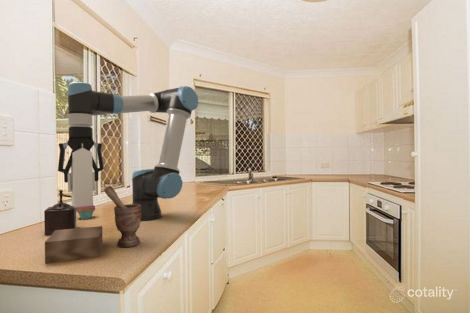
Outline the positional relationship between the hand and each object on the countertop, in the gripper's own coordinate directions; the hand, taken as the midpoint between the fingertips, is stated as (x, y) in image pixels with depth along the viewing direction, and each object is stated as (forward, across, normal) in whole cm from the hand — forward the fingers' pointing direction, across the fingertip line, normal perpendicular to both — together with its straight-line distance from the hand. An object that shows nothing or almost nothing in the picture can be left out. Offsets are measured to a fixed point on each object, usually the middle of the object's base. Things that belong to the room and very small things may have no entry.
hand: (82, 190), depth 105 cm
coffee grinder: (+18, +7, -18) cm, 26 cm away
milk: (+5, 0, 0) cm, 5 cm away
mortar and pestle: (+18, -13, +12) cm, 25 cm away
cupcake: (+18, +3, -41) cm, 45 cm away
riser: (+18, 0, +14) cm, 23 cm away
